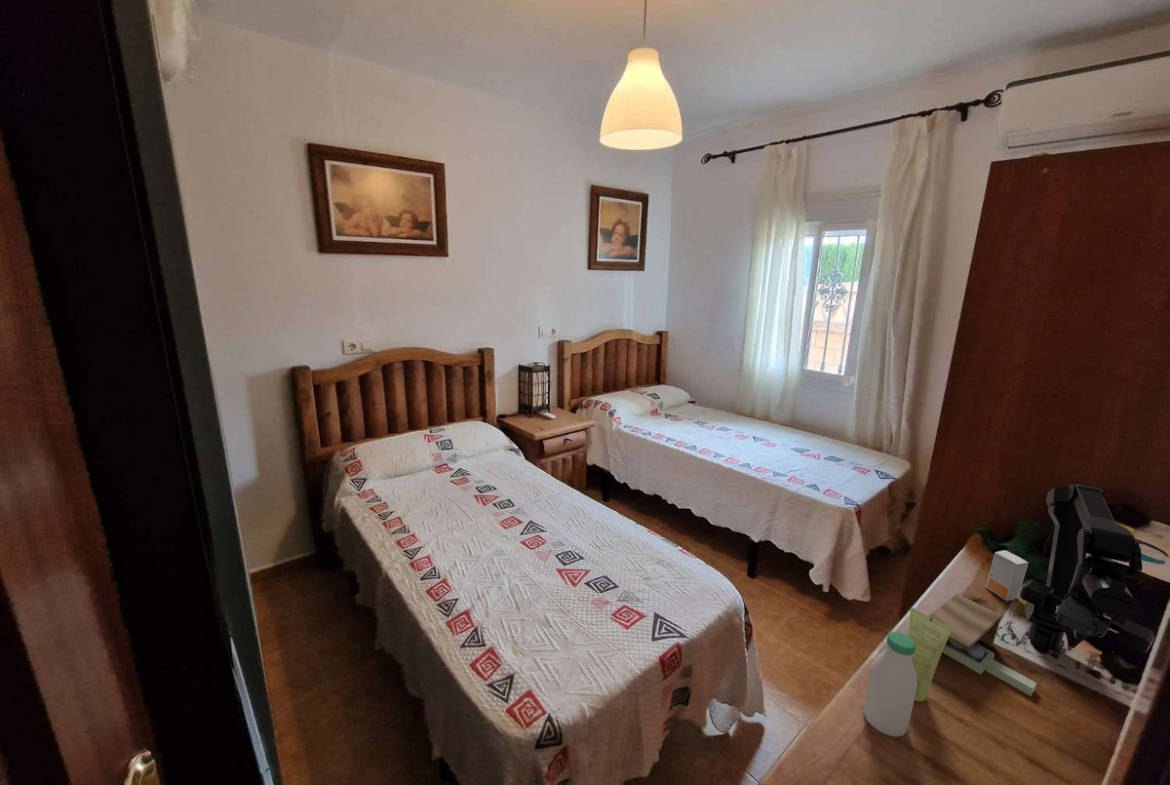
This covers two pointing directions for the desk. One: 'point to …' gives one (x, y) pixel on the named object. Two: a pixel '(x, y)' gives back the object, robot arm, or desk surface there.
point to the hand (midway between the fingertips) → (1071, 646)
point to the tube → (926, 648)
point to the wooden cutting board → (968, 621)
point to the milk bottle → (892, 686)
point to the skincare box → (1006, 575)
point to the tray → (993, 669)
